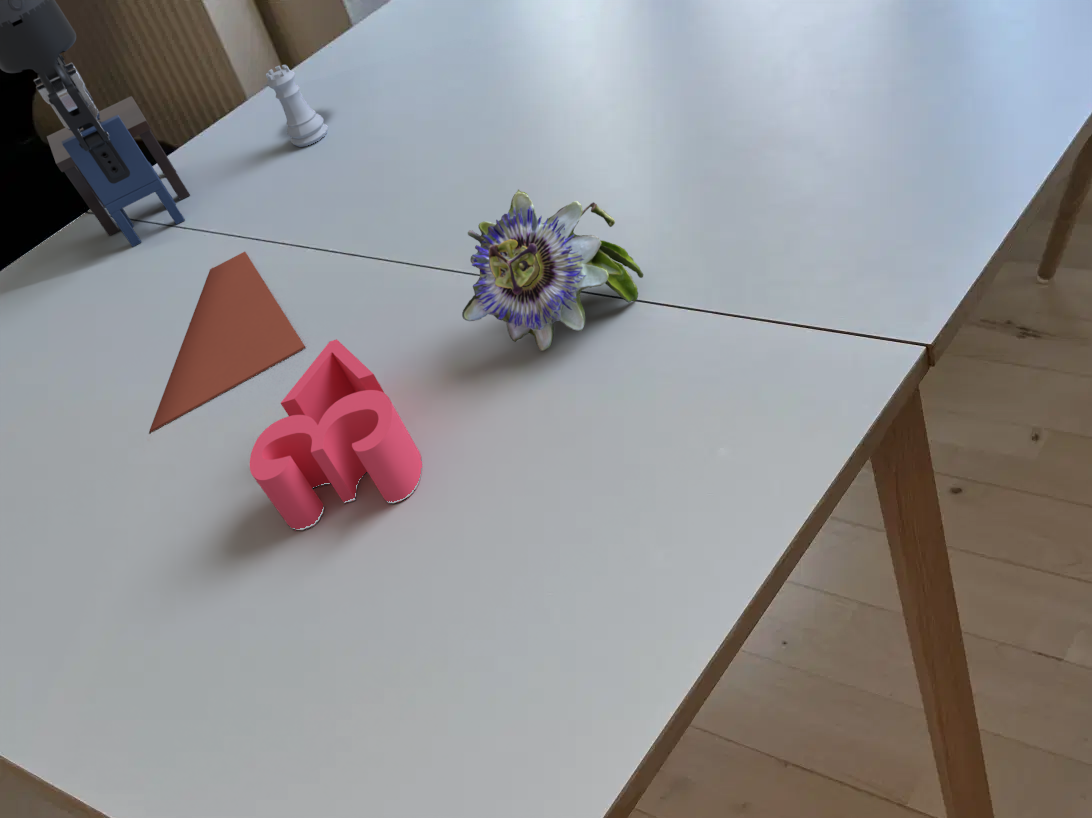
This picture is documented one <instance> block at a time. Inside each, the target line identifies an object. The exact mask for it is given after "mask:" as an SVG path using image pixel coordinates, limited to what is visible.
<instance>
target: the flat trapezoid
mask: <svg viewBox="0 0 1092 818" xmlns="http://www.w3.org/2000/svg"><path fill="white" fill-rule="evenodd" d="M208 271H209V272H208V274H207V277H206V279H205V282H204V283H203V287H202V290H201V292H200V295H199V298H198V301H197V303H196V306H195V308H194V311H193V314H192V317H191V319H190V322H189V325H188V327H187V330H186V332H185V335H184V338H183V340H182V342H181V346H180V348H179V351H178V354H177V356H176V358H175V361H174V364H173V367H172V368H171V369H172V370H171V372H170V375H169V377H168V381H167V383H166V386H165V388H164V391H163V393H162V396H161V399H160V402H159V404H158V407H157V410H156V412H155V415H154V417H153V420H152V422H151V426H150V428H149V430H148V431H149V433H153V432H155V431H156V430H158V429H160V428H162V427H164V426H165V425H168V424H169V423H171V422H173V421H174V420H176V419H179V418H180V417H182V416H184V415H186V414H188V413H189V412H191V411H193V410H194V409H196V408H199V407H200V406H202V405H204V404H206V403H208V402H210V401H211V400H213V399H216V398H217V397H218V396H220V395H222V394H225V393H226V392H228V391H230V390H231V389H234V388H235V387H237V386H239V385H241V384H243V383H244V382H246V381H248V380H249V379H251V378H254V377H255V376H257V375H259V374H261V373H263V372H265V371H266V370H268V369H270V368H272V367H273V366H276V365H277V364H279V363H280V362H283V361H284V360H286V359H288V358H290V357H293V356H294V355H295V354H297V353H299V352H301V351H303V350H305V349H306V348H307V347H306V345H305V344H304V342H303V340H302V339H301V338H300V335H298V332H297V331H296V330H295V328H294V327H293V324H292V323H291V322H290V320H289V318H288V317H287V315H286V314H285V312H284V311H283V309H282V308H281V306H280V304H279V303H278V301H277V299H276V298H275V296H274V295H273V292H271V290H270V289H269V287H268V285H267V284H266V282H265V281H264V279H263V278H262V276H261V275H260V273H259V271H258V269H257V268H256V267H255V265H254V263H253V262H252V260H251V259H250V257H249V256H248V253H247V252H246V251H243V252H241V253H238V254H236V255H235V256H232V257H231V258H229V259H228V260H225V261H223V262H222V263H219V264H218V265H215V266H214V267H212V268H210V269H209V270H208Z"/></svg>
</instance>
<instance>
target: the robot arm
mask: <svg viewBox="0 0 1092 818" xmlns="http://www.w3.org/2000/svg"><path fill="white" fill-rule="evenodd" d="M76 40H77V34H76V31H75V29H74V28H73V26H72V25H71V23H70V22H69V20H68V19H67V16H66V15H65V14H64V12H63V11H62V9H61V7H60V6H59V4H58V3H57V1H56V0H0V70H1V71H3V72H5V73H8V74H16V73H17V74H18V73H23V72H24V71H26V70H32V71H34V72H35V73H36V75H37V76H38V77H37V78H34V79H33V82H34V85H36V86H35V88H36V91H38V94H39V95H40V97H41V98H42V99H43V100H44V102H45V103H47V105H50V107H51V108H52V110H53V112H54V113H55V114H56V116H57V117H58V119H59V121H60V123H61V124H62V125H63V127H64V128H67V129H68V130H71V131H72V132H73V134H74V135H75V137H76V138H77V140H78V141H79V143H80V144H79V145H80V147H81V148H82V149H84V150H85V151H87V152H88V151H89V152H90V154H91V155H92V157H93V158H94V160H95V161H96V163H97V164H98V166H99V167H100V169H101V170H102V172H103V173H104V175H105V176H106V178H107V179H108V181H109V182H110V183H113V184H115V183H117V182H119V181H121V180H123V179H125V178H127V177H129V176H130V171H129V169H128V167H127V166H126V164H125V163H124V161H123V160H122V158H121V157H120V155H119V154H118V152H117V150H116V149H115V147H114V146H113V144H112V143H111V140H110V138H109V137H110V135H109V134H108V132H106V131H105V130H104V129H103V127H102V125H101V124H100V123H101V121H98V120H100V118H99V116H100V113H99V111H100V110H99V109H98V108H97V106H96V104H95V103H94V102H95V101H94V98H93V96H92V95H91V93H90V91H89V90H88V88H87V87H86V83H85V82H84V80H83V78H82V76H81V74H80V73H79V71H78V69H77V68H76V66H75V64H74V63H73V62H70V63H67V64H66V62H65V58H64V57H63V55H62V53H65V52H67V51H68V50H69V49H70V48H72V47H73V45H74V44H75V43H76ZM93 126H94V127H95V128H96V130H97V131H94V132H92V133H90V134H88V135H86V136H83V134H82V133H81V132H83V131H85V130H87V129H89V128H91V127H93ZM82 128H83V129H82ZM80 129H82V130H80Z"/></svg>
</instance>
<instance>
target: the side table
mask: <svg viewBox="0 0 1092 818" xmlns="http://www.w3.org/2000/svg"><path fill="white" fill-rule="evenodd" d="M98 111H99V113H100V116H99V118H100V120H98V121H101V122H103V121H106V120H108V119H110V118H112V117H114V116H116V115H119V117H120V119H121V120H122V122H123V123H124V125H125V126H126V128H127V130H128V131H129V133H130V134H131V136H132V137H133V139H134V138H136V137H138V136H139V137H140V139H141V140H142V142H143V144H144V145H145V147H146V148H147V150H148V152H149V154H150V155H151V156H152V158H153V159H154V161H155V162H156V164H157V166H158V167H159V169H160V170H161V172H162V174H163V175H164V177H165V179H166V180H167V181H168V183H169V185H170V187H171V188H172V189H173V191H174V193H175V194H176V195H177V197H178V199H179V200H180V201H181V200H184V199H185V198H187V197H190V196H191V194H190V192H189V191H188V189H187V188H186V185H185V184H184V183H183V180H182V179H181V177H180V176H179V174H178V173H177V170H176V168H175V166H174V165H173V164H172V162H171V160H170V158H169V157H168V155H167V154H166V152H165V151H164V149H163V148H162V146H161V144H160V143H159V141H158V139H157V138H156V137H155V135H154V133H153V132H152V127H151V126H150V124H149V123H148V121H147V119H146V117H145V115H144V114H143V112H142V110H141V109H140V107H139V105H138V104H137V102H136V100H135V99H134V97H133V96H132V95H131V96H128V97H126V98H124V99H121V100H120V101H118V102H116V103H114V104H112V105H110V106H107V107H105V108H103V109H101V110H98ZM82 129H83V128H82ZM82 129H80V130H82ZM72 136H74V134H73V132H72V131H71V130H68V129H67V128H66V127H64V128H61V129H59V130H57V131H55V132H53V133H50V134H49V135H46V138H47V141H48V145H49V147H50V150H51V154H52V156H53V158H54V161H55V164H56V166H57V167H58V169H59V170H60V172H61V173H64V174H65V175H66V177H67V178H68V180H69V181H70V182H71V184H72V185H73V187H74V188H75V189H76V191H77V192H78V194H79V195H80V197H81V198H82V200H83V201H84V203H85V204H86V206H88V208H89V210H90V211H91V213H92V214H93V215H94V217H95V218H96V219H97V221H98V222H99V224H100V225H101V227H102V228H103V229H104V231H105V233H106V234H107V235H108V236H109V237H111V236H112V235H114V234H116V233H118V232H120V228H119V226H118V225H117V224H116V222H115V221H114V219H113V218H112V216H111V215H110V213H109V212H108V210H107V209H106V208H105V206H104V205H103V203H102V202H101V200H100V199H99V197H98V196H97V194H96V193H95V191H94V190H93V189H92V187H91V186H90V184H89V183H88V181H87V180H86V178H85V177H84V175H83V174H82V173H81V171H80V170H79V168H78V167H77V165H76V164H75V162H74V161H73V159H72V158H71V157H70V155H69V154H68V152H67V151H66V149H65V148H64V146H63V145H62V141H64V140H66V139H68V138H70V137H72Z"/></svg>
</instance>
